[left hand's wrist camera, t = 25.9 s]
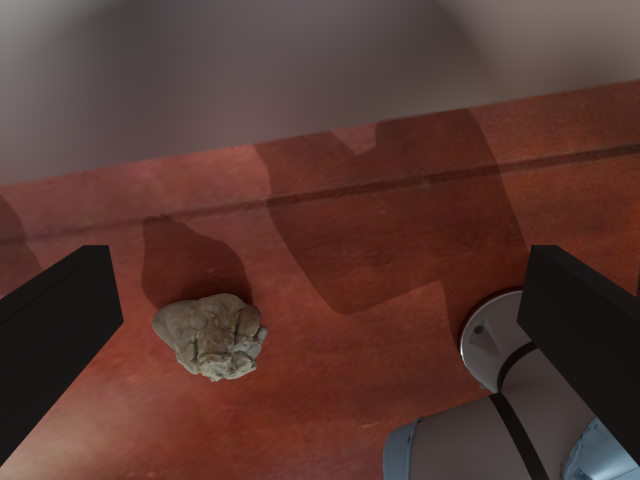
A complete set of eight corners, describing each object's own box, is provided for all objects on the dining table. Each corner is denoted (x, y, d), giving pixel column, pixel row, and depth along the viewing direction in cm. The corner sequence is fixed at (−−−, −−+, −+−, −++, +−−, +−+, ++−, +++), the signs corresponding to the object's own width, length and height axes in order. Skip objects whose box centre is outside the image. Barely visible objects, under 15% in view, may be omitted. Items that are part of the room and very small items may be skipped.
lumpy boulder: (161, 269, 53) (261, 278, 48) (195, 320, 60) (285, 333, 55) (106, 341, 45) (218, 362, 40) (152, 390, 52) (252, 413, 47)
